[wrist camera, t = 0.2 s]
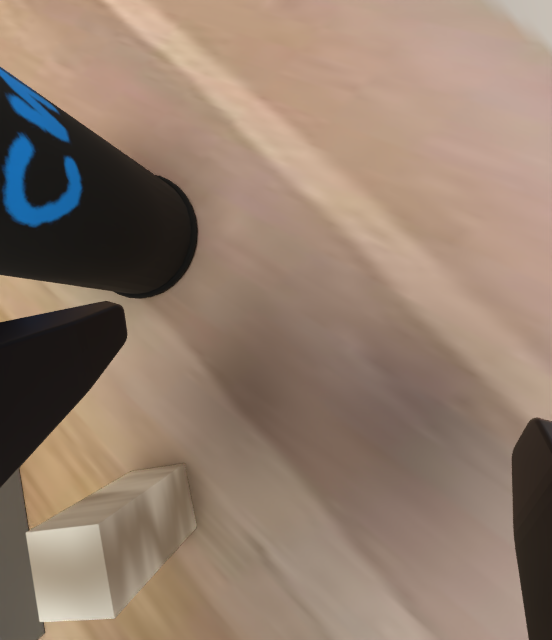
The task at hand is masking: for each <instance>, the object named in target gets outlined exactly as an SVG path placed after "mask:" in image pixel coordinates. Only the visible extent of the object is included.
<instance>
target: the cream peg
mask: <svg viewBox="0 0 552 640" xmlns="http://www.w3.org/2000/svg"><path fill="white" fill-rule="evenodd" d="M196 527H197V525H196V520H195V514H194V509H193V504H192V499H191V493H190V488H189V483H188V478H187V472H186V467H185V463H183V464H176V465H169V466H163V467H156V468H149V469H143V470H136V471H130V472H129V473H127V474H125V475H124V476H122V477H120V478H118V479H117V480H115V481H113V482H111V483H110V484H108V485H106V486H105V487H103V488H101V489H99V490H98V491H96V492H94V493H93V494H91V495H89V496H87V497H86V498H84V499H82V500H81V501H79V502H77V503H75V504H74V505H72V506H70V507H69V508H67V509H65V510H63V511H62V512H60V513H58V514H57V515H55V516H53V517H51V518H50V519H48V520H46V521H45V522H43V523H41V524H39V525H38V526H36V527H34V528H33V529H31V530H29V531H27V532H26V538H27V545H28V551H29V557H30V564H31V570H32V576H33V583H34V589H35V596H36V602H37V608H38V615H39V621H40V622H53V621H74V620H95V619H115V618H116V616H117V615H118V614H119V613H120V612H121V611H122V610H123V609H124V608H125V606H126V605H127V604H128V603H129V602H130V601H131V600H132V599H133V598H134V596H135V595H136V594H137V593H138V592H139V591H140V590H141V589H142V588H143V586H144V585H145V584H146V583H147V582H148V581H149V580H150V579H151V578H152V576H153V575H154V574H155V573H156V572H157V571H158V570H159V569H160V568H161V566H162V565H163V564H164V563H165V562H166V561H167V560H168V559H169V558H170V556H171V555H172V554H173V553H174V552H175V551H176V550H177V549H178V548H179V546H180V545H181V544H182V543H183V542H184V541H185V540H186V539H187V537H188V536H189V535H190V534H191V533H192V532H193V531H194V530H195V529H196Z"/></svg>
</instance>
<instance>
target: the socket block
mask: <svg viewBox="0 0 552 640" xmlns="http://www.w3.org/2000/svg"><path fill="white" fill-rule="evenodd" d="M27 531H29V530H28V523H27V517H26V510H25V504H24V498H23V491H22V485H21V479H20V472H19V468H18V469H17V470H16V472H15V473H14V474H13V475H12V476H11V477H10V478H9V479H8V480H7V481H6V482H5V484H4V485H3V486H2V487H1V488H0V640H38V639H39V638H40V637H41V636H42V635H43V634H44V633H45V632H44V625H43V622H40V621H39V615H38V608H37V602H36V596H35V589H34V583H33V576H32V570H31V564H30V557H29V551H28V545H27V538H26V532H27Z"/></svg>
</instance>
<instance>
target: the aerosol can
mask: <svg viewBox="0 0 552 640" xmlns="http://www.w3.org/2000/svg"><path fill="white" fill-rule="evenodd" d="M196 242H197V224H196V217H195V214H194V211H193V208H192V206H191V204H190V202H189V200H188V198H187V196H186V195H185V194H184V193H183V192H182V190H181V189H180V188H179V187H178V186H177V185H175V184H174V183H173V182H171V181H170V180H168V179H165V178H163V177H161V176H157V175H154V174H153V173H151V172H150V171H148V170H147V169H145V168H144V167H143V166H141V165H140V164H138V163H137V162H136V161H134V160H133V159H131V158H130V157H128V156H127V155H126V154H124V153H123V152H121V151H120V150H118V149H117V148H116V147H114V146H113V145H111V144H110V143H108V142H107V141H106V140H104V139H103V138H101V137H100V136H98V135H97V134H96V133H94V132H93V131H91V130H90V129H88V128H87V127H86V126H84V125H83V124H81V123H80V122H78V121H77V120H76V119H74V118H73V117H71V116H70V115H68V114H67V113H66V112H64V111H63V110H61V109H60V108H58V107H57V106H56V105H54V104H53V103H51V102H50V101H48V100H47V99H46V98H44V97H43V96H41V95H40V94H38V93H37V92H36V91H34V90H33V89H31V88H30V87H29V86H27V85H26V84H24V83H23V82H21V81H20V80H19V79H17V78H16V77H14V76H13V75H11V74H10V73H9V72H7V71H6V70H4V69H3V68H1V67H0V275H5V276H12V277H19V278H26V279H33V280H40V281H47V282H53V283H60V284H67V285H74V286H81V287H88V288H95V289H101V290H108V291H113V292H115V293H117V294H119V295H122V296H125V297H129V298H146V297H151V296H154V295H157V294H159V293H162V292H164V291H165V290H167V289H168V288H170V287H171V286H173V285H174V284H175V283H176V282H177V281H178V280H179V279H180V278H181V277H182V275H183V274H184V272H185V271H186V269H187V268H188V266H189V264H190V262H191V260H192V257H193V255H194V251H195V247H196Z"/></svg>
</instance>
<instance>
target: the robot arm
mask: <svg viewBox="0 0 552 640" xmlns="http://www.w3.org/2000/svg"><path fill="white" fill-rule="evenodd" d="M126 339H127V327H126V320H125V313H124V309H123V307H122V306H121V305H119V304H116V303H112V302H108V301H103V302H98V303H93V304H88V305H83V306H78V307H74V308H69V309H64V310H59V311H54V312H49V313H44V314H39V315H34V316H29V317H24V318H20V319H15V320H10V321H5V322H0V488H1V487H2V486H3V485H4V484H5V482H6V481H7V480H8V479H9V478H10V477H11V476H12V475H13V474H14V473H15V472H16V470H17V469H18V468H19V467H20V466H21V465H22V464H23V463H24V462H25V461H26V459H27V458H28V457H29V456H30V455H31V454H32V453H33V452H34V451H35V450H36V449H37V447H38V446H39V445H40V444H41V443H42V442H43V441H44V440H45V439H46V438H47V436H48V435H49V434H50V433H51V432H52V431H53V430H54V429H55V428H56V427H57V425H58V424H59V423H60V422H61V421H62V420H63V419H64V418H65V417H66V416H67V415H68V413H69V412H70V411H71V410H72V409H73V408H74V407H75V406H76V405H77V404H78V402H79V401H80V400H81V399H82V398H83V397H84V396H85V395H86V393H87V392H88V391H89V390H90V389H91V387H92V386H93V385H94V384H95V382H96V381H97V380H98V378H99V377H100V376H101V374H102V373H103V372H104V370H105V369H106V368H107V366H108V365H109V364H110V362H111V361H112V360H113V358H114V357H115V356H116V354H117V353H118V352H119V350H120V349H121V348H122V346H123V345H124V343H125V341H126ZM512 492H513V528H514V541H515V549H516V556H517V563H518V569H519V576H520V583H521V590H522V596H523V603H524V610H525V617H526V623H527V630H528V637H529V640H552V421H548V420H544V419H541V418H533V419H531V420H530V421H529V423H528V424H527V426H526V428H525V429H524V431H523V433H522V435H521V436H520V438H519V440H518V442H517V443H516V445H515V447H514V449H513V453H512Z"/></svg>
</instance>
